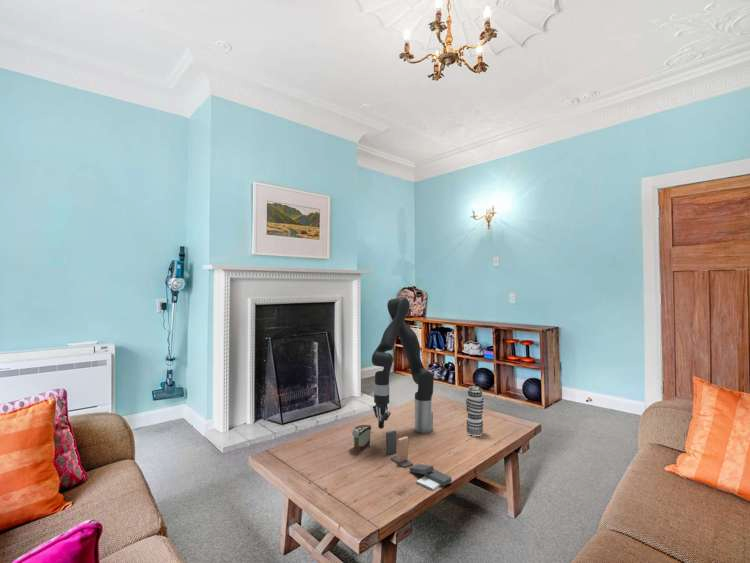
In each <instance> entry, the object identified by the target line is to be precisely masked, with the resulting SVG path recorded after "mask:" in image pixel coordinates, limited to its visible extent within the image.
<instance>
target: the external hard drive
mask: <svg viewBox="0 0 750 563" xmlns="http://www.w3.org/2000/svg"><path fill="white" fill-rule="evenodd" d="M415 484H417V485H418V486H421V487H423V488H426V489H427V490H431V491H432V492H434V491H435V490H436V489H438V488H440V487H441V486H442V485H441V484H439V483H437V482H435V481H433V480H431V479H429V478H427V477H425V476H422V477H421V478H420V479H418V480H416V482H415Z"/></svg>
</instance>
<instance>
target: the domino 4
mask: <svg viewBox="0 0 750 563" xmlns="http://www.w3.org/2000/svg"><path fill="white" fill-rule="evenodd" d="M408 469H409V472H410V473H414V474H420V475H424V474H427V473H429V472H431V471H433V470H434V465H428V464H421V463H420V464H419V463H418V464H414V465H413V466H410V467H408Z"/></svg>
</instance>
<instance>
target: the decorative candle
mask: <svg viewBox="0 0 750 563" xmlns="http://www.w3.org/2000/svg"><path fill="white" fill-rule="evenodd" d="M466 390H467V395H466V396H467V397H466V400H465V404H466V406H465V407H466V412H467V416H466V418H467V419H466V434H467V433H468V434H469V435H468V434H467V435H468V436H470V435H472V436H471V437H473V436H475V435H476V436H477V435H481V434H482V433H484V432H483V431H484V422H483V414H484V411H483V410H484V399H485V398H484V397H483V389H482V388H481V387H480V386H477V385H470V386H469V387H468V388H466Z"/></svg>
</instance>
